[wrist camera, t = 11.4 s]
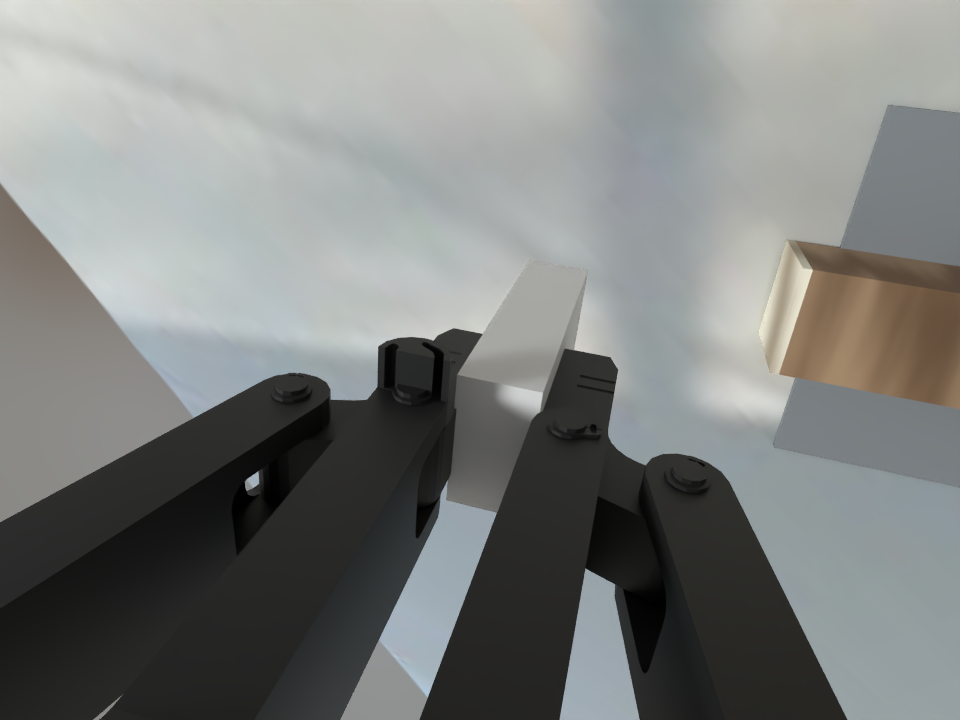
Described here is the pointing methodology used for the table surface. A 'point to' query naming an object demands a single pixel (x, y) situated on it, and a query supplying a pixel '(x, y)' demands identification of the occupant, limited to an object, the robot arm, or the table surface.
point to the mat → (908, 234)
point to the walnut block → (865, 322)
